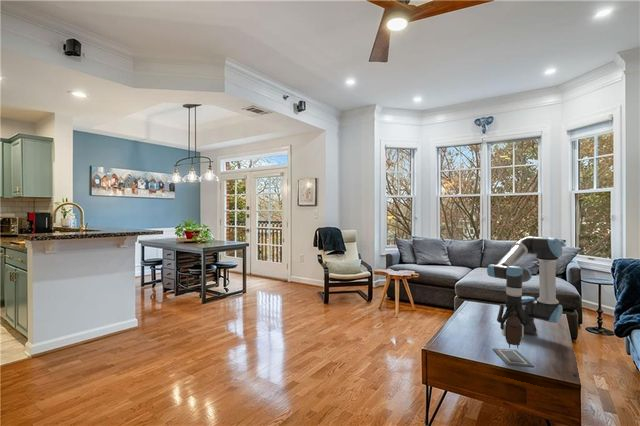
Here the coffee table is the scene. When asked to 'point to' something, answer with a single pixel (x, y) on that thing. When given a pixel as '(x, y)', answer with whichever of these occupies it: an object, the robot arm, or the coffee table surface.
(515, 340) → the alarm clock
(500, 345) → the coffee table surface
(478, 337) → the coffee table surface
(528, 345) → the coffee table surface
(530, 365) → the rest mat
